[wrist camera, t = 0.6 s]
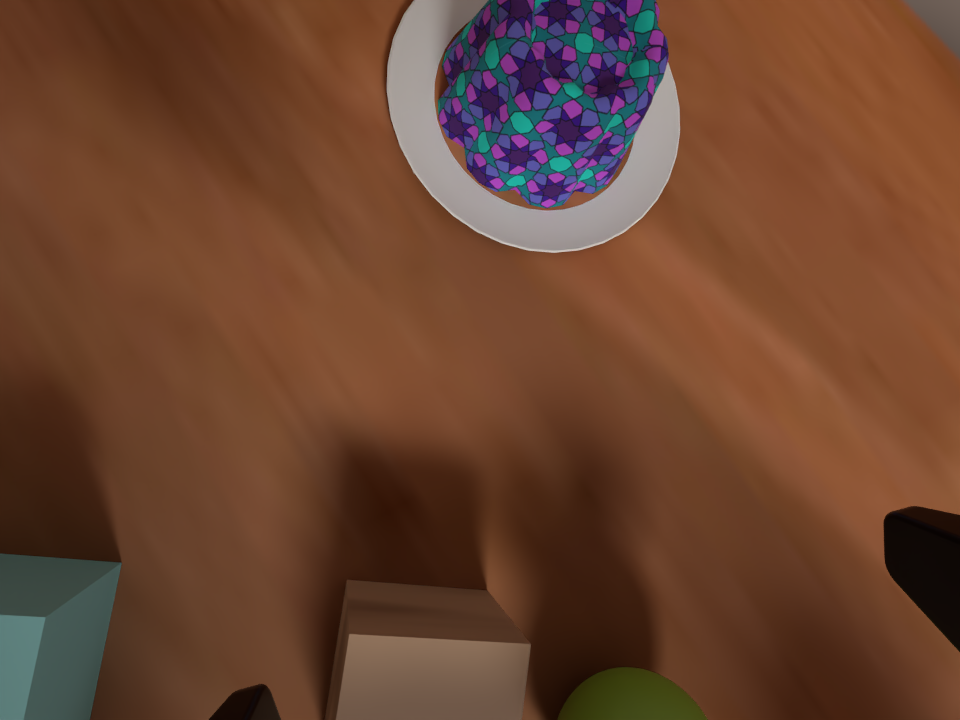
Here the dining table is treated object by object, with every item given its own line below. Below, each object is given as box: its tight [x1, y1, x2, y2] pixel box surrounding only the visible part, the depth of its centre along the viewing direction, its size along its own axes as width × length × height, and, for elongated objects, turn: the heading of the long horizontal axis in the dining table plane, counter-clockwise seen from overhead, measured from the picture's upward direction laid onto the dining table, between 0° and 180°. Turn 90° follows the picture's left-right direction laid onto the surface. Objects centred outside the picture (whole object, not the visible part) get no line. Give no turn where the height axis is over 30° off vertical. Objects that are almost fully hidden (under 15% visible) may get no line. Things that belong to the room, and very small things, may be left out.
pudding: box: [387, 0, 680, 253], centre depth 21 cm, size 12×12×5 cm
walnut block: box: [325, 580, 531, 720], centre depth 18 cm, size 5×5×5 cm
